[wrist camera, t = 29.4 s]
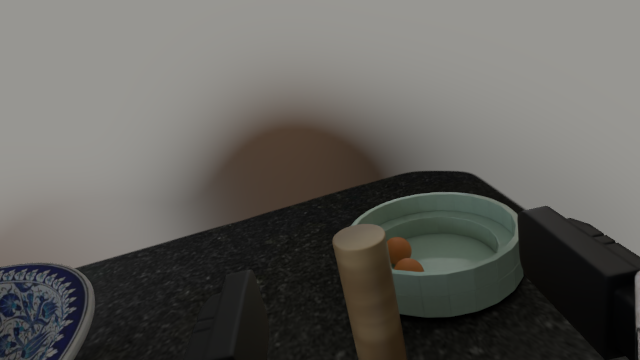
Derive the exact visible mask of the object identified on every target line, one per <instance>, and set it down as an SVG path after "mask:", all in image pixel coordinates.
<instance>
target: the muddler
mask: <svg viewBox="0 0 640 360" xmlns="http://www.w3.org/2000/svg"><path fill="white" fill-rule="evenodd" d="M333 247H334V251H335V256H336V260H337V265H338V269H339V274H340V279H341V283H342V288H343V292H344V297H345V301H346V306H347V310H348V315H349V319H350V324H351V328H352V333H353V337H354V342H355V346H356V351H357V355H358V360H407V355H406V349H405V344H404V338H403V332H402V326H401V320H400V314H399V309H398V303H397V297H396V291H395V285H394V279H393V274H392V268H391V262H390V256H389V250H388V244H387V239H386V233H385V231H384V229H383V228H381V227H380V226H377V225H373V224H358V225H353V226H350V227H347V228H345V229H343V230H341V231H339V232H338V233H337V234H336V235H335V236H334V238H333Z"/></svg>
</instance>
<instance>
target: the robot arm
mask: <svg viewBox="0 0 640 360" xmlns="http://www.w3.org/2000/svg"><path fill="white" fill-rule="evenodd" d="M517 223H518V240H519V257H520V263H521V266H522V269H523V271H524V273H525V275H526V276H527V278H528V279H529V280H530V281H531V282H532V283H533V284H534V285H535V286H536V288H537V289H538V290H539V291H540V292H541V293H542V294H543V295H544V296H545V297H546V298H547V299H548V300H549V301H550V302H551V303H552V304H553V305H554V307H555V308H556V309H557V310H558V311H559V312H560V313H561V314H562V315H563V316H564V317H565V318H566V319H567V320H568V321H569V322H570V323H571V325H572V326H573V327H574V328H575V329H576V330H577V331H578V332H579V333H580V334H581V335H582V336H583V337H584V338H585V339H586V340H587V341H588V342H589V344H590V345H591V346H592V347H593V348H594V349H595V350H596V351H597V352H598V353H599V354H600V355H601V356H602V357H603V358H604V359H605V360H609V359H613V358H618V357H623V356H626V357H627V358H628V359H629V360H640V257H639V256H638V255H636V254H634V253H633V252H631V251H630V250H628V249H627V248H625V247H624V246H622V245H621V244H619V243H616V242H615V240H613V239H611V238H610V237H608V236H607V235H604V234H603V233H602V232H601V231H599V230H598V229H596V228H594V227H593V226H591V225H590V224H587V223H584V222H581V221H578V220H575V219H571V218H568V219H566V218H565V217H563V216H562V215H560V214H559V213H557V212H556V211H554V210H553V209H551V208H550V207H548V206H543V207H539V208H534V209H529V210H525V211H521V212H519V214H518V218H517ZM268 338H269V324H268V317H267V313H266V309H265V306H264V303H263V300H262V297H261V294H260V290H259V287H258V284H257V281H256V278H255V275H254V272H253V271H252V270H246V271H242V272H237V273H233V274H228V275H226V278H225V281H224V285H223V288H222V291H221V293H219V294H214V295H211V297H210V298H209V299H208V300H207V301H206V302H205V304H204V305H203V306H202V307H201V309H200V312H199V315H198V318H197V323H196V324H195V327H194V329H193V333H192V335H191V338H190V341H189V344H188V347H187V349H186V352H185V355H184V358H183V360H267V349H268Z"/></svg>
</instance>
